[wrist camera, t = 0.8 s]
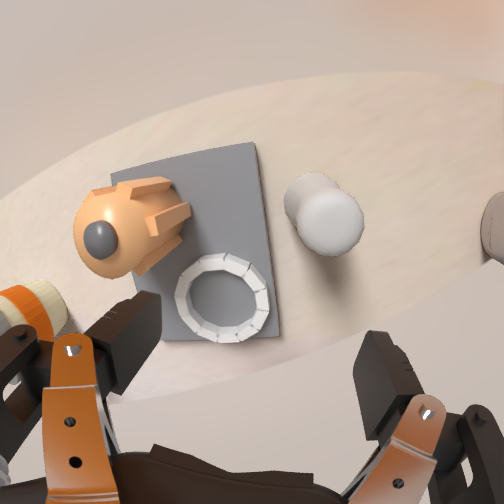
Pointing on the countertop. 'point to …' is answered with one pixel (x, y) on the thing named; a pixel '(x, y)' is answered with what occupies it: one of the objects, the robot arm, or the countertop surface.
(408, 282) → the countertop surface
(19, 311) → the reusable coffee cup
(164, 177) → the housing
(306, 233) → the salt shaker
